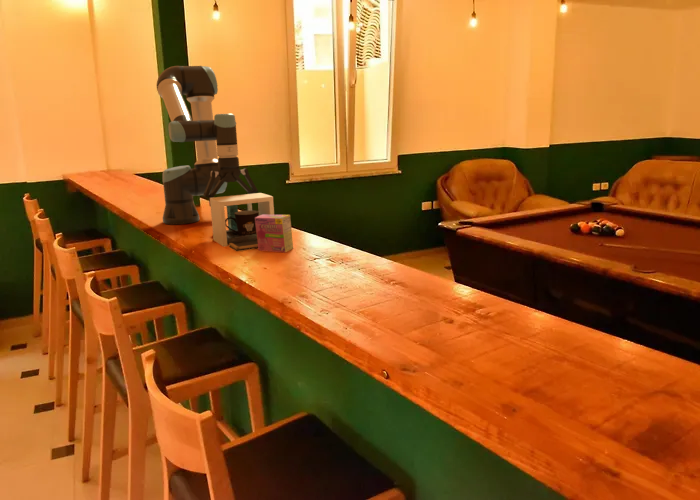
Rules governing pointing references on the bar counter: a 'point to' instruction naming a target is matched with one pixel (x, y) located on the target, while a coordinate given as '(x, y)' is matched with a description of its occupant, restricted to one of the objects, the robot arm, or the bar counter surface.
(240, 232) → the coffee mug
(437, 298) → the bar counter surface
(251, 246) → the dark slate tile
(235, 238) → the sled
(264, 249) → the box
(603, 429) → the bar counter surface
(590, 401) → the bar counter surface
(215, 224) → the tunnel
